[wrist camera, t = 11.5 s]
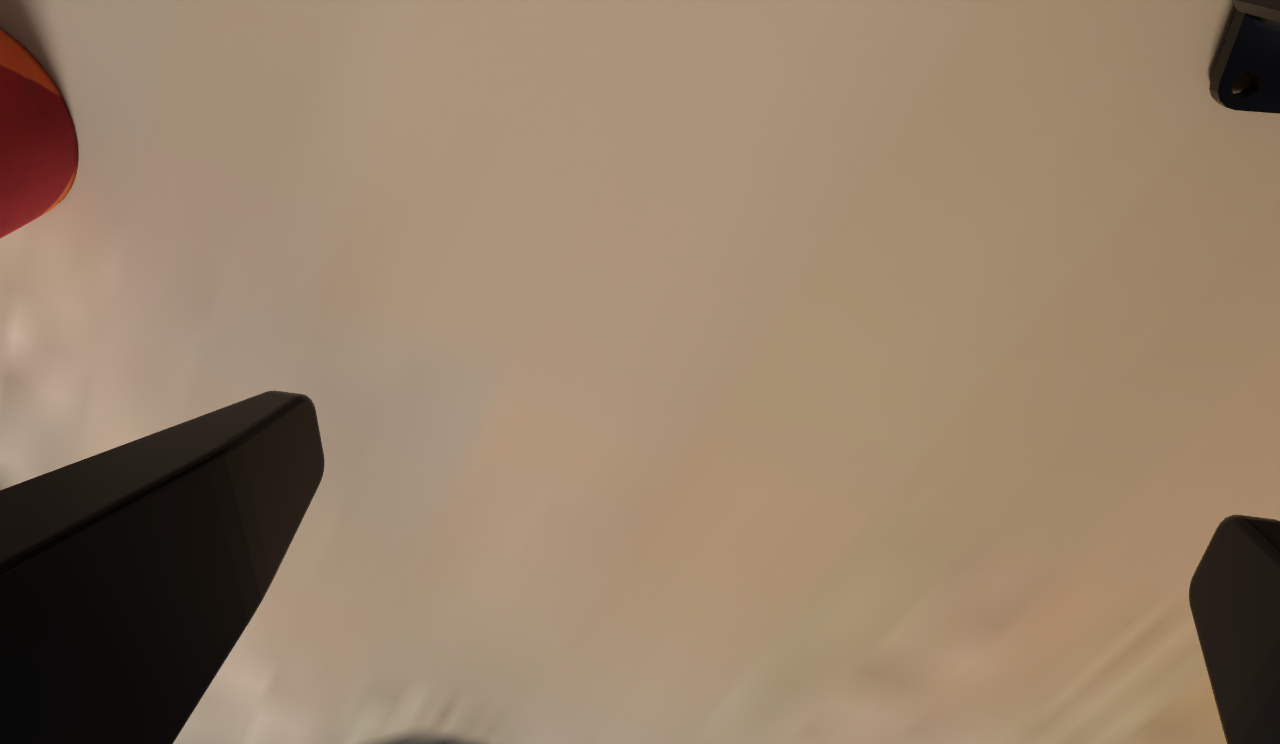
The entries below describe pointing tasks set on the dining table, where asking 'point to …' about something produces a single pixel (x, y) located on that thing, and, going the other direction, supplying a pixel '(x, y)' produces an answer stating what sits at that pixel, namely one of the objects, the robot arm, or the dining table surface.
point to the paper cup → (31, 139)
